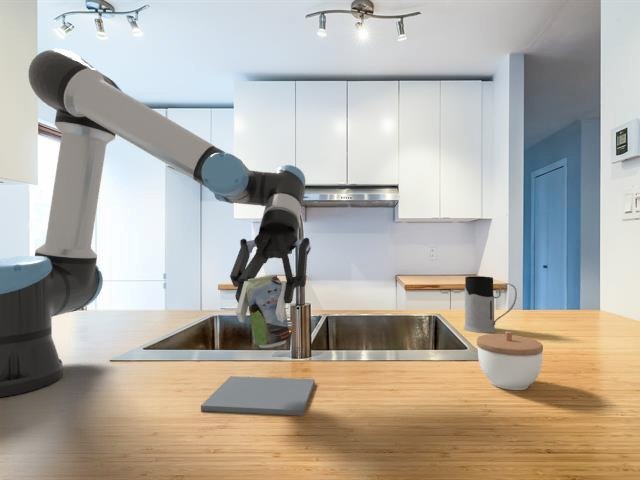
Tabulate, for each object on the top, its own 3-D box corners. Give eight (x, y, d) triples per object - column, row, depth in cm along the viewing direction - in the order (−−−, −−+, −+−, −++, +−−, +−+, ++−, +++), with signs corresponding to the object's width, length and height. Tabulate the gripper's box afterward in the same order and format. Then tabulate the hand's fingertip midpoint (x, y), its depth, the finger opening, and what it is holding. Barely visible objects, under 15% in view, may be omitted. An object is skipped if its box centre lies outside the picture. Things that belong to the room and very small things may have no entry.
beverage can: (284, 352, 62) (282, 276, 62) (240, 350, 63) (239, 276, 63) (294, 341, 68) (293, 273, 68) (254, 340, 69) (253, 273, 69)
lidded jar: (516, 400, 63) (516, 342, 63) (464, 379, 72) (463, 329, 72) (556, 388, 68) (556, 334, 68) (502, 370, 77) (502, 323, 77)
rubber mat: (200, 410, 60) (200, 405, 60) (230, 380, 73) (230, 376, 73) (302, 415, 58) (302, 410, 58) (314, 383, 71) (314, 379, 71)
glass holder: (468, 324, 118) (467, 275, 118) (519, 330, 110) (519, 277, 110) (459, 330, 111) (459, 278, 111) (514, 337, 103) (513, 280, 103)
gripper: (328, 233, 81) (319, 331, 64) (240, 235, 83) (210, 329, 67) (324, 206, 75) (314, 304, 59) (231, 208, 78) (196, 303, 62)
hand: (259, 317), depth 63 cm, fingers closed on beverage can, 6 cm apart
